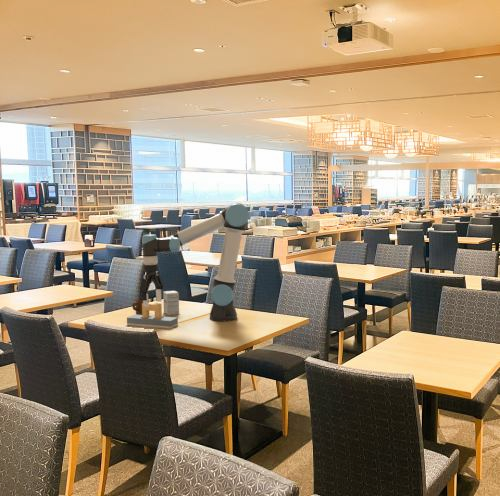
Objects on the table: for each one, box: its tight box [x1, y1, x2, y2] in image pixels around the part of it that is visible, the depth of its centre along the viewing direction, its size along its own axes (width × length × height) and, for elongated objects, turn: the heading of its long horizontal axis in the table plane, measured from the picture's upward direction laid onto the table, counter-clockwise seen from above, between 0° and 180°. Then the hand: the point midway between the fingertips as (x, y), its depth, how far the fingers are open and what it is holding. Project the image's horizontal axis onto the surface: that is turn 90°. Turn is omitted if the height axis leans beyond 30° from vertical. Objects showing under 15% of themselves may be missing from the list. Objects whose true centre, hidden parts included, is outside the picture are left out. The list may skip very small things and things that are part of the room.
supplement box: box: [162, 290, 180, 316], centre depth 330 cm, size 7×7×13 cm
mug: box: [131, 297, 150, 315], centre depth 322 cm, size 12×8×9 cm, turn 151°
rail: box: [126, 314, 179, 329], centre depth 302 cm, size 26×8×4 cm, turn 70°
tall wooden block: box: [142, 302, 163, 319], centre depth 301 cm, size 10×3×10 cm, turn 70°
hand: (152, 303), depth 301 cm, fingers open, 13 cm apart
